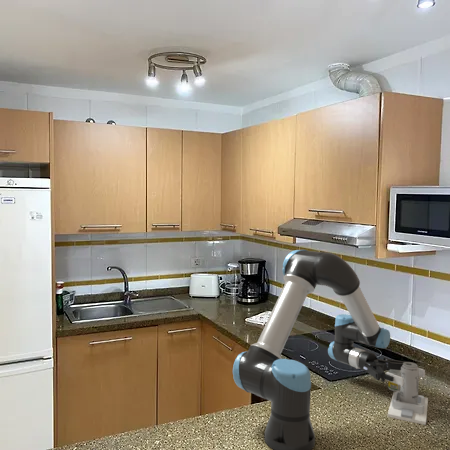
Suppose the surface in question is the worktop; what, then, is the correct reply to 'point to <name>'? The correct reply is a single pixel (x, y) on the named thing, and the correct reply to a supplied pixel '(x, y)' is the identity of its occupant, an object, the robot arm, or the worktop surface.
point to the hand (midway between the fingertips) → (414, 377)
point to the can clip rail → (408, 409)
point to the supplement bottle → (392, 385)
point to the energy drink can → (409, 383)
